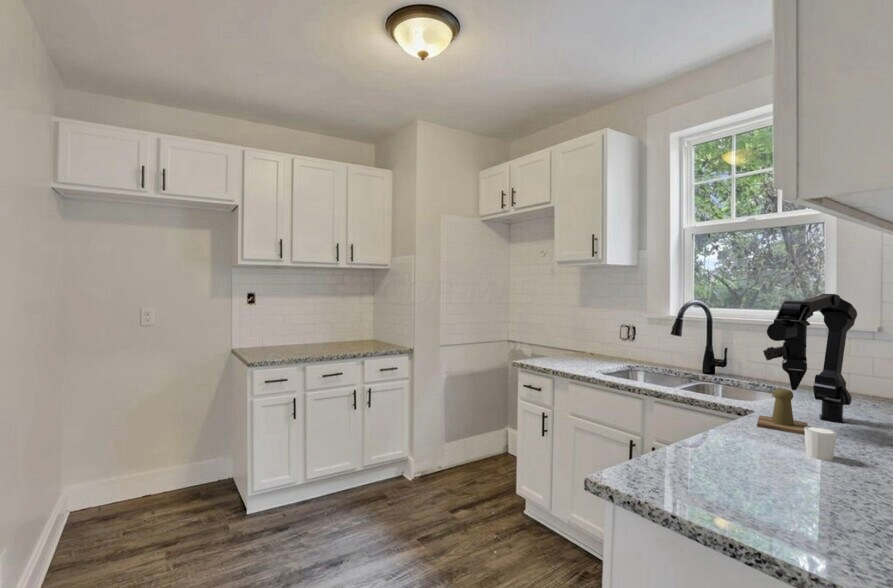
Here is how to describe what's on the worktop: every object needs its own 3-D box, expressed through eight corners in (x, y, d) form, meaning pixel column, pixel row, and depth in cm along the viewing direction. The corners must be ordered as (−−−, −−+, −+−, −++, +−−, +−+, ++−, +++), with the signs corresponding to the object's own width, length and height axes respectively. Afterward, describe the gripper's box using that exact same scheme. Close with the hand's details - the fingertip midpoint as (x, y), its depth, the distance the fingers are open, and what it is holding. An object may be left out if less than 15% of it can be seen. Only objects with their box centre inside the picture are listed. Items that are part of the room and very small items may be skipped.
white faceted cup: (831, 454, 126) (832, 428, 126) (839, 462, 120) (841, 435, 120) (800, 450, 129) (801, 424, 129) (806, 458, 123) (807, 431, 123)
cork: (787, 420, 155) (787, 387, 154) (798, 426, 149) (799, 391, 149) (767, 419, 155) (768, 386, 155) (777, 425, 149) (778, 390, 149)
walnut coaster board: (759, 418, 161) (759, 415, 161) (807, 425, 153) (807, 422, 153) (756, 426, 151) (757, 423, 151) (807, 435, 143) (808, 431, 143)
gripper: (766, 335, 164) (765, 379, 164) (763, 340, 149) (762, 389, 150) (807, 337, 157) (805, 384, 158) (807, 343, 142) (806, 394, 143)
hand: (794, 387), depth 152 cm, fingers open, 9 cm apart
